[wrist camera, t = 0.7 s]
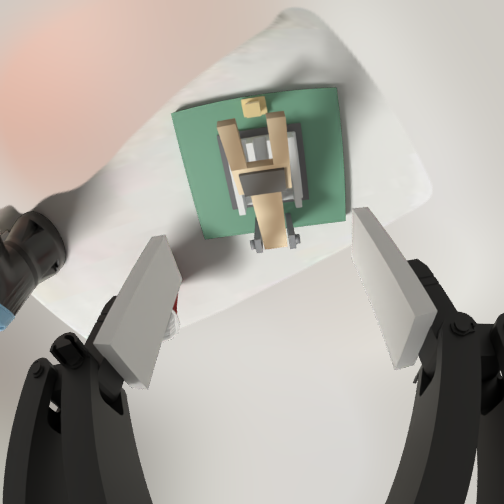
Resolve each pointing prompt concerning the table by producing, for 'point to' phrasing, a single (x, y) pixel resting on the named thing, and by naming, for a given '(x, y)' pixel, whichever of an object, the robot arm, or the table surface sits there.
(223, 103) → the board
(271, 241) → the strap
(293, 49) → the table surface
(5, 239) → the gas can
